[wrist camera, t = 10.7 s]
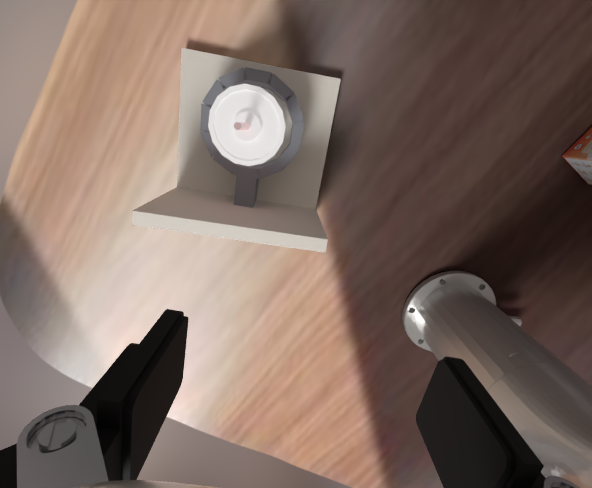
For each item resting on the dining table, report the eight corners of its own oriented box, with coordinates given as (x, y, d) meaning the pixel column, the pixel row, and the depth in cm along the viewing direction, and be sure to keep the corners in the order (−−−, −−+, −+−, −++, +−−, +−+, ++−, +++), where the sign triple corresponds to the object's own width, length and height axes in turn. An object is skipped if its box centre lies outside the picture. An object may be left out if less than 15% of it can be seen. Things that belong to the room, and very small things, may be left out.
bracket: (338, 80, 33) (367, 54, 21) (312, 216, 38) (325, 252, 26) (185, 50, 31) (129, 5, 20) (179, 195, 36) (132, 225, 25)
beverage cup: (258, 168, 34) (241, 193, 21) (216, 127, 33) (169, 125, 20) (297, 127, 33) (305, 126, 20) (255, 81, 31) (233, 47, 18)
